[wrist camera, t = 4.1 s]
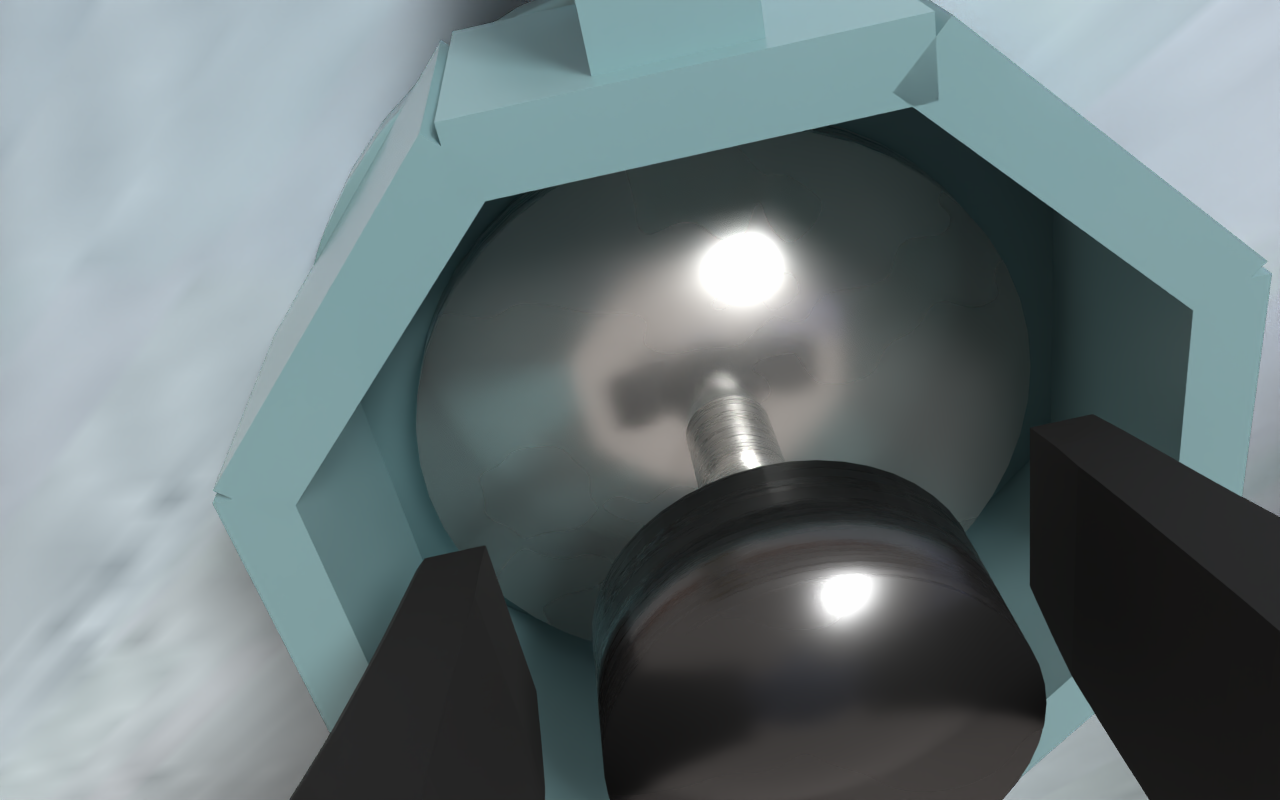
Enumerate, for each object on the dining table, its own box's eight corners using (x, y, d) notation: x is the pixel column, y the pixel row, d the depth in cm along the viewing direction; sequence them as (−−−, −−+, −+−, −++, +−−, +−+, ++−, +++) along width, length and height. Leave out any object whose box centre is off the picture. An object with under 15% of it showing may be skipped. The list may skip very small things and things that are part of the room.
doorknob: (1008, 45, 11) (1334, 252, 7) (1012, 563, 15) (1224, 915, 11) (332, 194, 11) (216, 494, 7) (507, 671, 15) (504, 1065, 11)
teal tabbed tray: (1110, -410, 10) (1388, -476, 7) (1077, 570, 17) (1213, 771, 13) (73, -172, 10) (-127, -131, 7) (442, 705, 17) (425, 936, 14)
